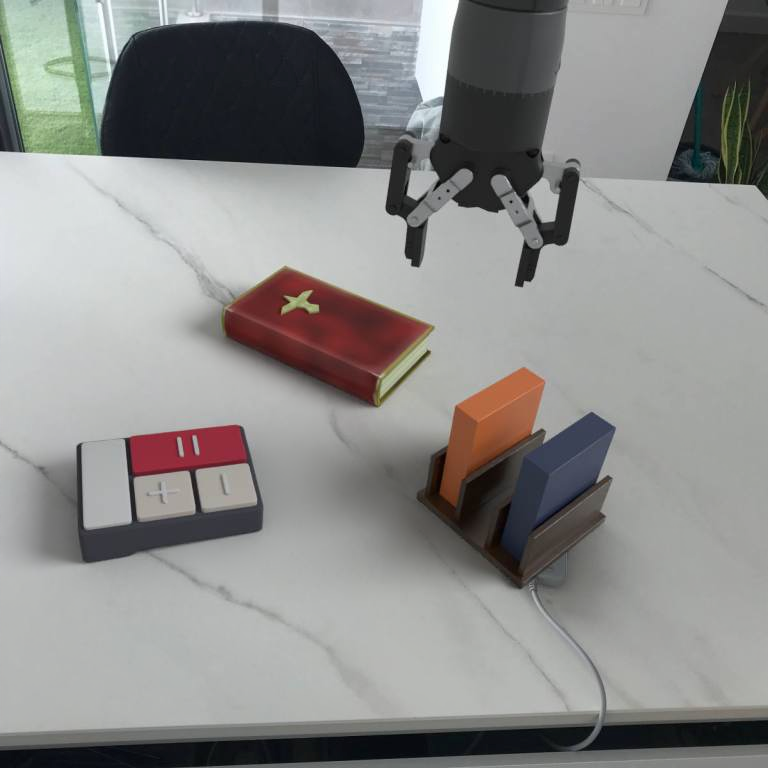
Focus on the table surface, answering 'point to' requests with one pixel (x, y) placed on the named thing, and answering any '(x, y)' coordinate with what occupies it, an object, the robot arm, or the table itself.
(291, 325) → the hardcover book
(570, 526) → the book rack
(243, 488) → the calculator
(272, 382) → the table surface
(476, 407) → the orange book
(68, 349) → the table surface
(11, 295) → the table surface
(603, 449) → the navy book
